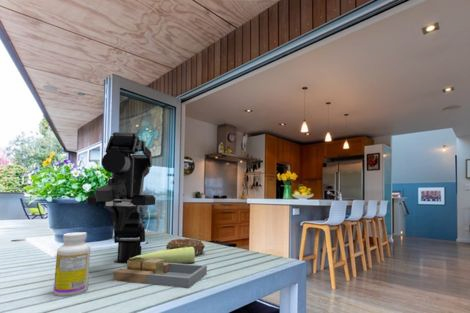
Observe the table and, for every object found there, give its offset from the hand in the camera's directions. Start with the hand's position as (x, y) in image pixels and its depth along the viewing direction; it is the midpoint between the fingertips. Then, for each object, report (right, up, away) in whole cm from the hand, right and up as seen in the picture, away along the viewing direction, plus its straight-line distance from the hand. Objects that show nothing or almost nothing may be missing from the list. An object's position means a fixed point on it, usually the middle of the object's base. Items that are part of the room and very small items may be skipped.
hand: (119, 230), depth 78 cm
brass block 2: (+11, -11, -4) cm, 16 cm away
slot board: (+8, -11, -4) cm, 14 cm away
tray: (+18, -11, -6) cm, 22 cm away
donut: (+14, -15, +25) cm, 32 cm away
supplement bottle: (-4, -10, -16) cm, 19 cm away
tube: (+19, -11, +12) cm, 25 cm away
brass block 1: (+6, -11, -3) cm, 13 cm away
